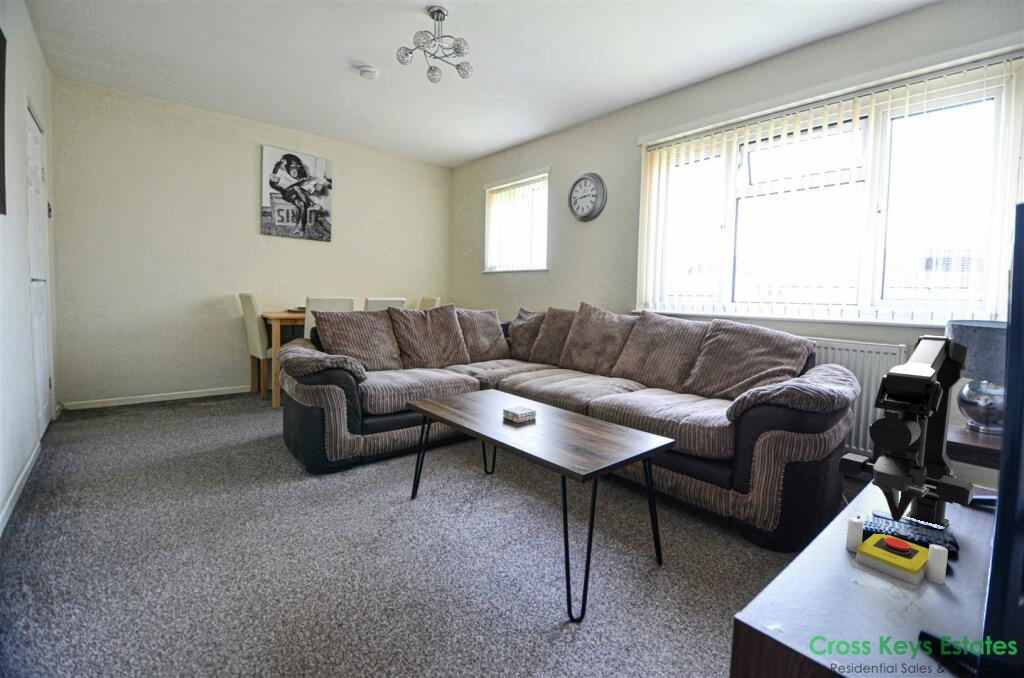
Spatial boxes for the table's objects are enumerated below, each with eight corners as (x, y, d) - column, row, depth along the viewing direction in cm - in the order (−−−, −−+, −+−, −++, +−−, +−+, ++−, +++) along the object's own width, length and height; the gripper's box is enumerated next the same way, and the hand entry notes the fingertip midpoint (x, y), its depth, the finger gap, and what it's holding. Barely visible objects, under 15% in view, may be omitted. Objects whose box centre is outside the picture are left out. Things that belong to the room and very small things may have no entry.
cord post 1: (848, 544, 93) (850, 516, 92) (862, 549, 91) (865, 521, 90) (844, 548, 91) (846, 519, 91) (858, 554, 89) (861, 524, 89)
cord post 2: (928, 574, 83) (931, 542, 83) (945, 580, 81) (949, 548, 81) (924, 579, 82) (927, 547, 81) (942, 585, 80) (946, 553, 79)
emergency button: (939, 543, 86) (914, 570, 78) (937, 565, 87) (911, 594, 78) (879, 522, 94) (850, 545, 86) (877, 543, 94) (848, 567, 86)
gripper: (829, 434, 86) (823, 513, 88) (967, 464, 72) (956, 558, 73) (849, 424, 93) (843, 498, 95) (979, 450, 78) (969, 536, 80)
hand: (896, 520), depth 85 cm, fingers closed
